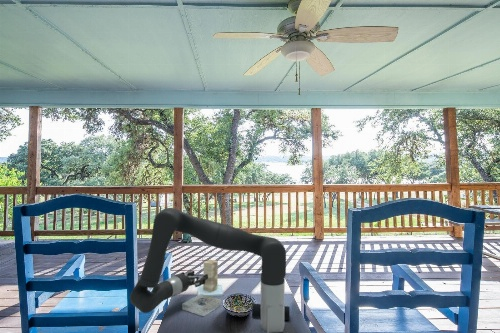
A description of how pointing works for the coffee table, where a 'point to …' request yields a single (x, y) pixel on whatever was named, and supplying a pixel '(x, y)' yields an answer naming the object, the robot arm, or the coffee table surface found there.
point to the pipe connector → (257, 311)
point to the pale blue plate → (215, 293)
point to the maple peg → (211, 275)
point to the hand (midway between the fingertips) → (200, 274)
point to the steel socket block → (197, 309)
